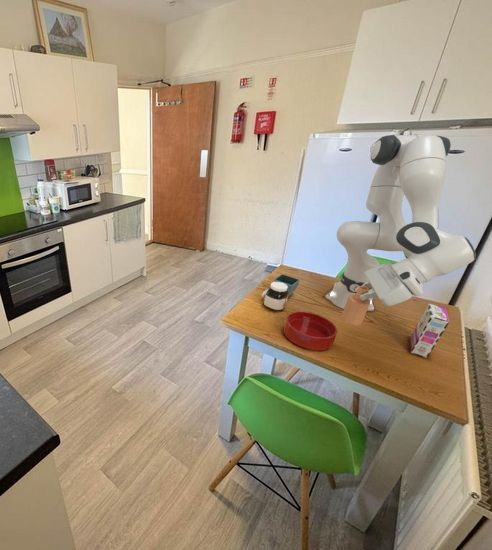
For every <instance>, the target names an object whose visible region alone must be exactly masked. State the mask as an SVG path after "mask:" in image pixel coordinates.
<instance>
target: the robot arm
mask: <svg viewBox="0 0 492 550" xmlns="http://www.w3.org/2000/svg"><path fill="white" fill-rule="evenodd" d="M451 145H452V143H451V140H450V138H448V137H446V136H442V135H434V134H417V133H416V134H415V133H414V134H399V135H398V134H397V135H394V134H388V135H384V136H382V137H380V138H379V139H377V140H376V142H375V143H374V145H372V148H371V151H370V161H371V162H372V163H373V164H375V165H378V167H377V169H376V172H375V173H374V175H373V178H372V181H371V183H370V188H369V191H368V194H367V199H366V202H365V208H366V209H367V210H368V211H369V212H370V213H372V214H374V215H376V216H377V217H378V222H375V221H363V220H357V221H356V220H354V221H352V220H351V221H345V222H343V223H342V224H341V225H340V226H339V227H338V228H337V231H336V240H337V241H338V242H339V244H340V245H341V246H342V247H343V248H344V249H345V251H346V253H347V261H346V266H345V269H344V271H343V273H342V275H341V276H340V279H339V281H335V282H334V284H333V288H332V289H331V290H330V291H329V292H328V293H327V294H326V295H325V297H324V298H325V299H326V300H328V301H330V302H331V303H332V304H333V305H334V306H336V307H338V308H340V309H342V310H344V308H345V305H346V303H347V300H348V297H349V296H350V295H356V293H357V291H358V288H359V286H365V287H367V288H369V291H368V293H362V294H360V295H359V297H360V298H361V300H366V299H369V300H370V301H371V303H370V305H369V308H368V310H367V312H374V311H375V307H374V304H373V300H374V299H376V298H378V299H379V301H380V302H381V303H382V305H384V306H385V307H391V306H395V305H398V304H401V303H403V302H406V301H407V300H410V299H411V298H413V296H414V297H420V296H422V295H423V294H424V285H425V284H426V283H429V282H431V280H433V279H435V278H437V277H441V276H446V275H448V274H451V273H453V272H455V271H457V270H460V269H462V268H464V267H465V266H467V265H469V264H471V263H473V262H474V261H475V260H476V257H477V251H476V250H475V247H474V246H473V244H472V243H471V241H470V239H468V238H467V237H466V236H464V235H460V234H459V235H458V234H453V233H449V232H446V231H444V230H441V229H439V207H440V206H439V204H440V200H441V195H442V190H443V186H444V181H445V176H446V170H447V156H448V155H449V153H450V151H451ZM404 196H405V198H406V200H407V202H408V203H409V206H410V210H411V216H412V217H411V218H412V219H411V220H412V221H411V222H410V223H407V222H406V220H405V219H404V216H403V211H402V206H403V201H404ZM368 250H376V251H383V252H402V253H403V255H404V257H405V258H404V259H402V260H400V261H397V262H390V263H383V264H380V261H379V260H378V259H377V258H376V257H374V256H373V255H371V254H369V253H368Z"/></svg>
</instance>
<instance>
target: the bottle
mask: <svg viewBox="0 0 492 550" xmlns="http://www.w3.org/2000/svg"><path fill="white" fill-rule="evenodd" d="M368 291H369V288H367V287H365V286H359V288H358V291H357V293H356V295H350V296H349V297H348V300H347V303H346V305H345V308H344V309H343V310H342V313H341V316H340V319H341V321H343V322H344V323H346V324H348V325H352V326H361V325H362V324H363V322H364V320H365V317H366V315H367V312H368V311H367V310H368V308H369V305H370V303H371V301H370V300H369V299H366V300H361V298H360V297H359V295H360V294H362V293H368Z"/></svg>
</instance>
